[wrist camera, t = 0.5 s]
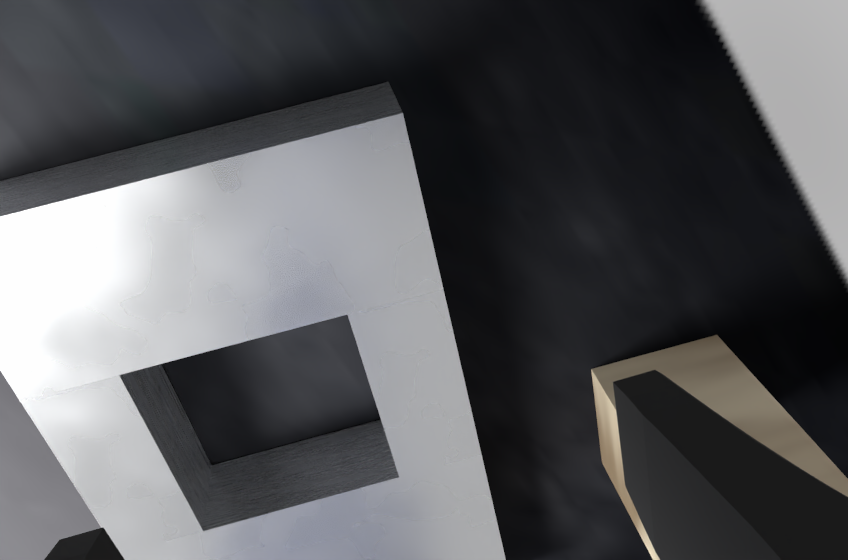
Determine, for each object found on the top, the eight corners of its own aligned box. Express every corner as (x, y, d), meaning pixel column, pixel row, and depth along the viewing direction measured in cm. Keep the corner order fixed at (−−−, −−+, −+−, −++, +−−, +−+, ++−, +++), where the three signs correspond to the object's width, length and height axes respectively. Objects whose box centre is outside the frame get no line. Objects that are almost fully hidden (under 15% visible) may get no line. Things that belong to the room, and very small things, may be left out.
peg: (717, 430, 25) (856, 614, 19) (602, 462, 24) (704, 658, 18) (717, 334, 23) (872, 506, 17) (591, 369, 22) (702, 554, 16)
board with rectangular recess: (504, 572, 26) (523, 636, 24) (230, 649, 26) (225, 720, 24) (388, 81, 17) (402, 112, 15) (-37, 190, 17) (-84, 238, 15)
